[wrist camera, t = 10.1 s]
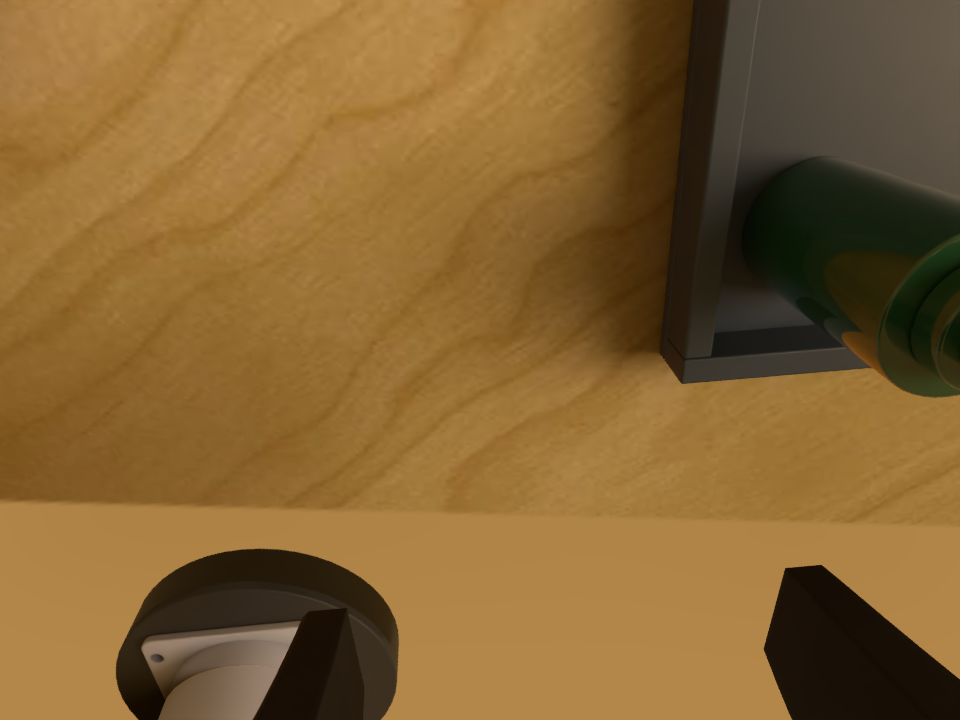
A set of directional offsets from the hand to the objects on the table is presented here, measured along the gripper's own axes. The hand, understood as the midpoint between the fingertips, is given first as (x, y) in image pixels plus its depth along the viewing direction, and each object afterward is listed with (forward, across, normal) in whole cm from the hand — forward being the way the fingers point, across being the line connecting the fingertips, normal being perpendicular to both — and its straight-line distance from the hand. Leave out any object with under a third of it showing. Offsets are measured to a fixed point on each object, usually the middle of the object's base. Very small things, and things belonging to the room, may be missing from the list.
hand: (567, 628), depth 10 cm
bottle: (+10, -9, -3) cm, 13 cm away
